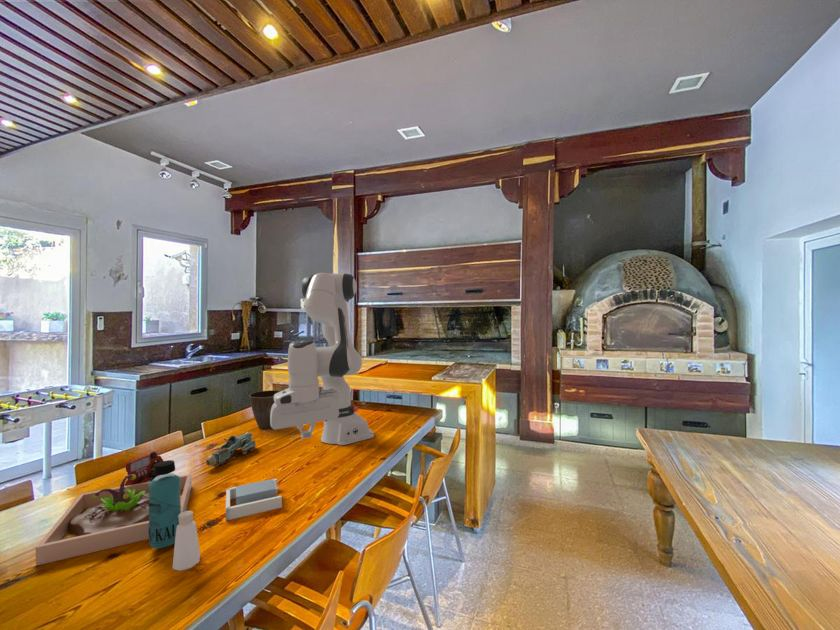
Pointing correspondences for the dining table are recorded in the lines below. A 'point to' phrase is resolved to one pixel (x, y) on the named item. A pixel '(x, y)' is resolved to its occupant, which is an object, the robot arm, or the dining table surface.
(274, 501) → the bay
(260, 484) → the short grey brick
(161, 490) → the beverage bottle
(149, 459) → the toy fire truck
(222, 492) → the dining table surface
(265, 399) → the plant pot
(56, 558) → the planter tray
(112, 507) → the plant
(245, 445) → the hoverbike
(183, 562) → the pepper shaker
